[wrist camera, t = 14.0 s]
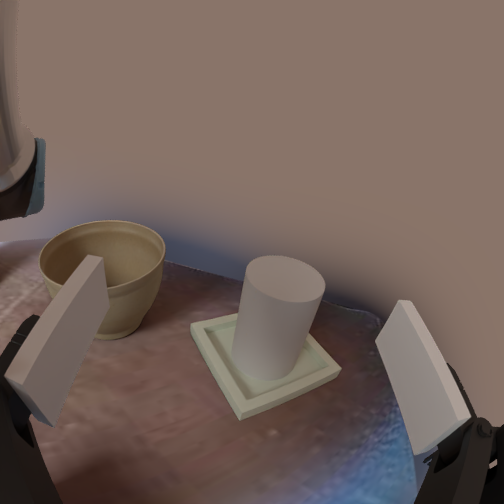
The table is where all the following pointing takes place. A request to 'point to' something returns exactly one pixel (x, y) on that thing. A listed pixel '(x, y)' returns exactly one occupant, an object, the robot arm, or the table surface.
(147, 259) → the planter bowl
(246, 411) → the tray
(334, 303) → the table surface
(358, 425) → the table surface
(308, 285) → the white cylinder
